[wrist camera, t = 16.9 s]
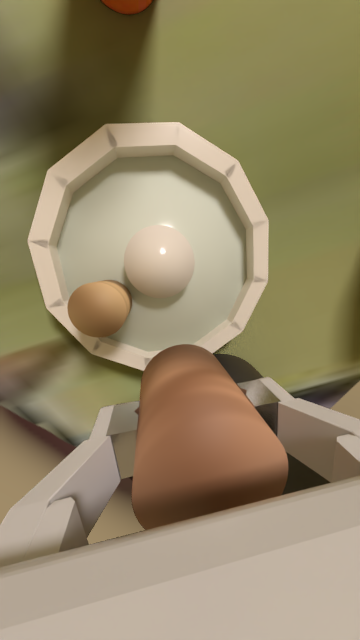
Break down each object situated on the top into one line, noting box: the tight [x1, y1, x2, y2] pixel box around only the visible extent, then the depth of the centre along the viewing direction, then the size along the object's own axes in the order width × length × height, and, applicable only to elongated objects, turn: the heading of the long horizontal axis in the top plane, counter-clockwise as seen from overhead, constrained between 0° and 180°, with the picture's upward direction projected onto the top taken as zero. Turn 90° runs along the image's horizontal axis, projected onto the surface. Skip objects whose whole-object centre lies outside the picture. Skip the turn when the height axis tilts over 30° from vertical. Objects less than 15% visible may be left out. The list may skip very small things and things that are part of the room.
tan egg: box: [67, 280, 132, 338], centre depth 17 cm, size 4×4×5 cm
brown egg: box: [132, 344, 288, 530], centre depth 8 cm, size 4×4×5 cm
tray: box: [28, 122, 268, 371], centre depth 19 cm, size 21×21×2 cm
